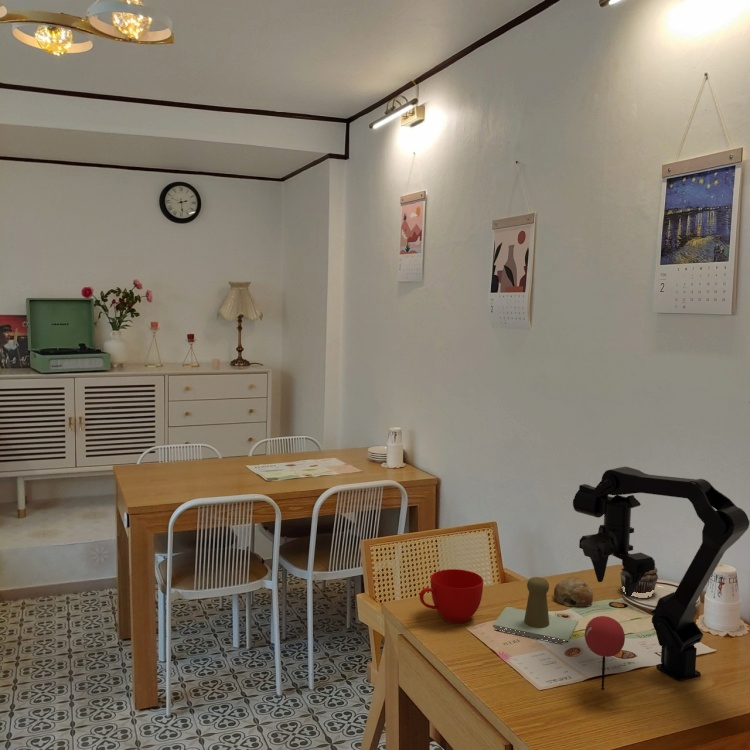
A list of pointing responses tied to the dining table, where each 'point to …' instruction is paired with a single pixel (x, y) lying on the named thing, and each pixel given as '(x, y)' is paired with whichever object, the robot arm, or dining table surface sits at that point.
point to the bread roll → (573, 592)
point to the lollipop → (604, 638)
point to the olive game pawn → (537, 603)
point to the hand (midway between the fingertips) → (613, 588)
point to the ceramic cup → (455, 594)
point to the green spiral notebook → (556, 628)
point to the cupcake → (644, 581)
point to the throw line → (530, 635)
